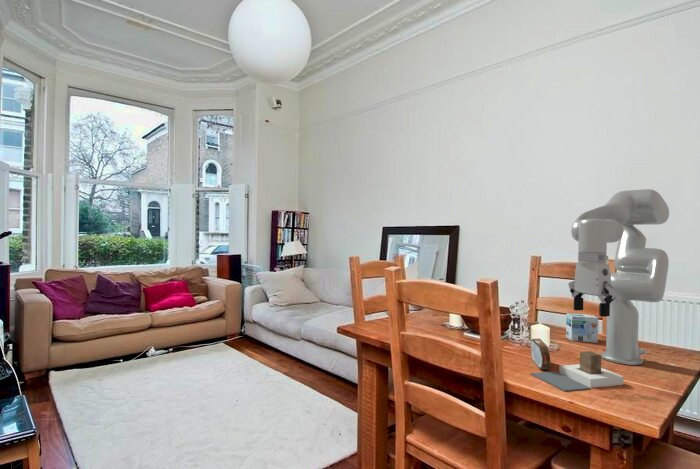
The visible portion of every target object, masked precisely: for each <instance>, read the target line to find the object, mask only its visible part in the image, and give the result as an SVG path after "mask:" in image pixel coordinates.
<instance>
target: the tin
mask: <svg viewBox="0 0 700 469" xmlns="http://www.w3.org/2000/svg"><path fill="white" fill-rule="evenodd" d="M530 355H531V359H532V361H533V363H534V364H535V365H536V366H537V368H538V369H539V370H542V371H543V370H546V371H549V370H550V369H551V355H550V351H549V347H548V345H547V344H546V343H545V342H544V341H543V340H542V339H541V338H532V339H531V340H530Z"/></svg>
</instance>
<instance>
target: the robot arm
mask: <svg viewBox="0 0 700 469" xmlns="http://www.w3.org/2000/svg"><path fill="white" fill-rule="evenodd" d="M669 217H670V209H669V206H668V204H667V202H666V200H665V199H664V198H663V196H662V195H661V194H660V192H658V191H657V190H656V189H655V190H654V189H652V188H651V189H650V188H647V189H645V188H644V189H630V190H622V191H618V192H616V193H615V194H613V196H612V197H611V198H610V199H609V200H608V202H606V204H605V205H604V204H603V205H601V206H598V207H595V208H593V209H590V210H587V211H585V212H582V213H581V214H580V215H579V216H578V217H577V218H576V219H575V220H574V222H573V223H572V226H571V230H570V231H571V236H572V239H573V240H575V241H577V242H578V246H577V247H578V248H577V249H578V250H577V251H578V254H577V255H578V256H577V262H576V265H575V272H574V280H572V281H570V282H569V283H568V285H567V286H568V288H569V292H570V293H571V297H572V298H573V311H584V297H583V296H584V295H588V296H589V295H590V296H594V297H595V296H596V297H598V299H599V300H600V303H599V304H598V308H599V310H598V313H599V314H598V315H599V316H600V317H601V318H603V317H605V318H606V330H605V335H606V338H605V342H606V343H605V351H602V352H600V355H601V359H604V360H606V361H609V362H613V363H616V364H622V365H632V366H637V365H642V364H644V359H643V358H642V357H641V356H640V355H647V354H648V349H646V348H639V315H640V314H639V311H638V309H637V308H636V306H635V305H634V304H633V302H632V301H637V302H646V303H659V302H661V301H662V300H663V298H664V296H665V291H666V286H667V285H666V284H667V278H668V272H669V266H670V264H669V256H668V254H667V252H666V251H665V250H664V249H661V248H653V247H652V248H651V247H646V244H647V237H646V236H645V235H644V233H643V232H642V231H641V230H640V229H639V228H638V227H636V226H638V225H640V226H641V225H649V226H650V225H651V226H652V225H662V224H664V223H666V222H667V221H668V220H669ZM635 225H636V226H635ZM616 242H617V247H616V251H615V255H614V256H615V257H614V260H613V261H614V262H613V263H614V268H615V269H616V270H617V271H619V272H612V273H611V268H610V264H609V263H607V261H608V260H609V256H608V255H607V254H608V253H607V251H608V250H607V248H608V247H607V246H608V243H609V244H611V243H613V244H614V243H616Z"/></svg>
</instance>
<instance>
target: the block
mask: <svg viewBox="0 0 700 469" xmlns="http://www.w3.org/2000/svg"><path fill="white" fill-rule="evenodd" d="M579 364H580V370H581V371H583V372H586V373H588V374H590V375H591V374H601V368H602V357H601V353H597V352H593V351H591V350H589V351H587V350H586V351H579Z"/></svg>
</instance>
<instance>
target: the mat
mask: <svg viewBox="0 0 700 469" xmlns="http://www.w3.org/2000/svg"><path fill="white" fill-rule="evenodd" d="M530 375H532V376H533V377H536V378H537V379H538V380H539V379H540V380H541V381H543V382H544V383H547V384H549V385H551V386H553V387H555V388H557V389H559V390H561V391H563V392H564V393H565V392H573V391H576V392H577V391H585V390H591V388H590V387H588V386H586V385H584V384H581V383H579V382H577V381H575V380H573V379H571V378H568V377H566V376H564V375H562V374H560V373H559V372H557V371H555V370H554V371H541V372H531V373H530Z"/></svg>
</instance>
